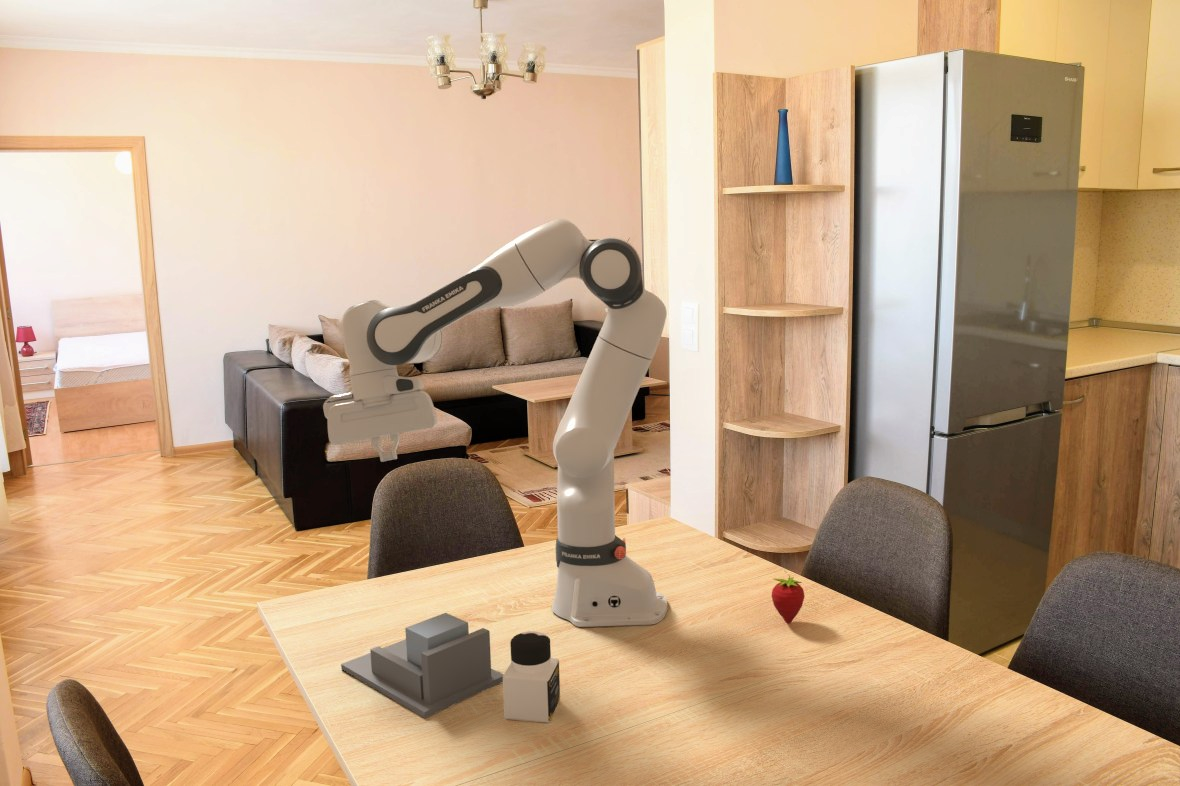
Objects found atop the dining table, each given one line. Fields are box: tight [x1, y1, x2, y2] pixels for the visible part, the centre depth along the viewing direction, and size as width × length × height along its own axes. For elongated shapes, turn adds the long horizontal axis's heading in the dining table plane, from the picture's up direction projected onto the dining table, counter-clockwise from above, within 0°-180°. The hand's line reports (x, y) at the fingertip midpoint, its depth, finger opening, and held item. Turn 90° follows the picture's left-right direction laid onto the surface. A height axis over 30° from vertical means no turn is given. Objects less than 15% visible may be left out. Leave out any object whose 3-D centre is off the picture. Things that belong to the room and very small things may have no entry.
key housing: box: [340, 627, 504, 719], centre depth 152 cm, size 24×16×9 cm, turn 46°
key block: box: [405, 612, 470, 669], centre depth 149 cm, size 6×8×9 cm
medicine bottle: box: [502, 630, 561, 724], centre depth 140 cm, size 7×7×12 cm
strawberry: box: [771, 569, 805, 624], centre depth 170 cm, size 6×8×10 cm
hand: (389, 460), depth 173 cm, fingers closed
